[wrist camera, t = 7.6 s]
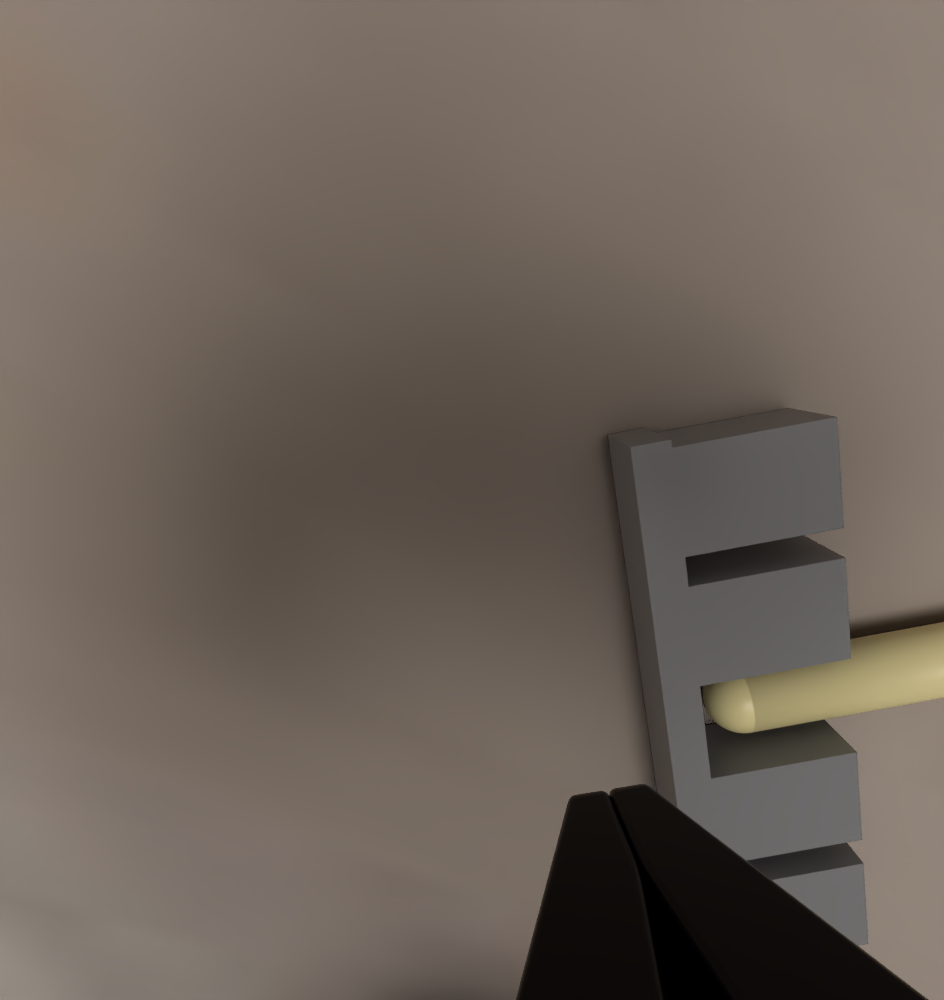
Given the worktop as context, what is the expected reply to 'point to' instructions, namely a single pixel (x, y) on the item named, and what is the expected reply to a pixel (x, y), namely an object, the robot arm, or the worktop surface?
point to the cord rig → (758, 644)
